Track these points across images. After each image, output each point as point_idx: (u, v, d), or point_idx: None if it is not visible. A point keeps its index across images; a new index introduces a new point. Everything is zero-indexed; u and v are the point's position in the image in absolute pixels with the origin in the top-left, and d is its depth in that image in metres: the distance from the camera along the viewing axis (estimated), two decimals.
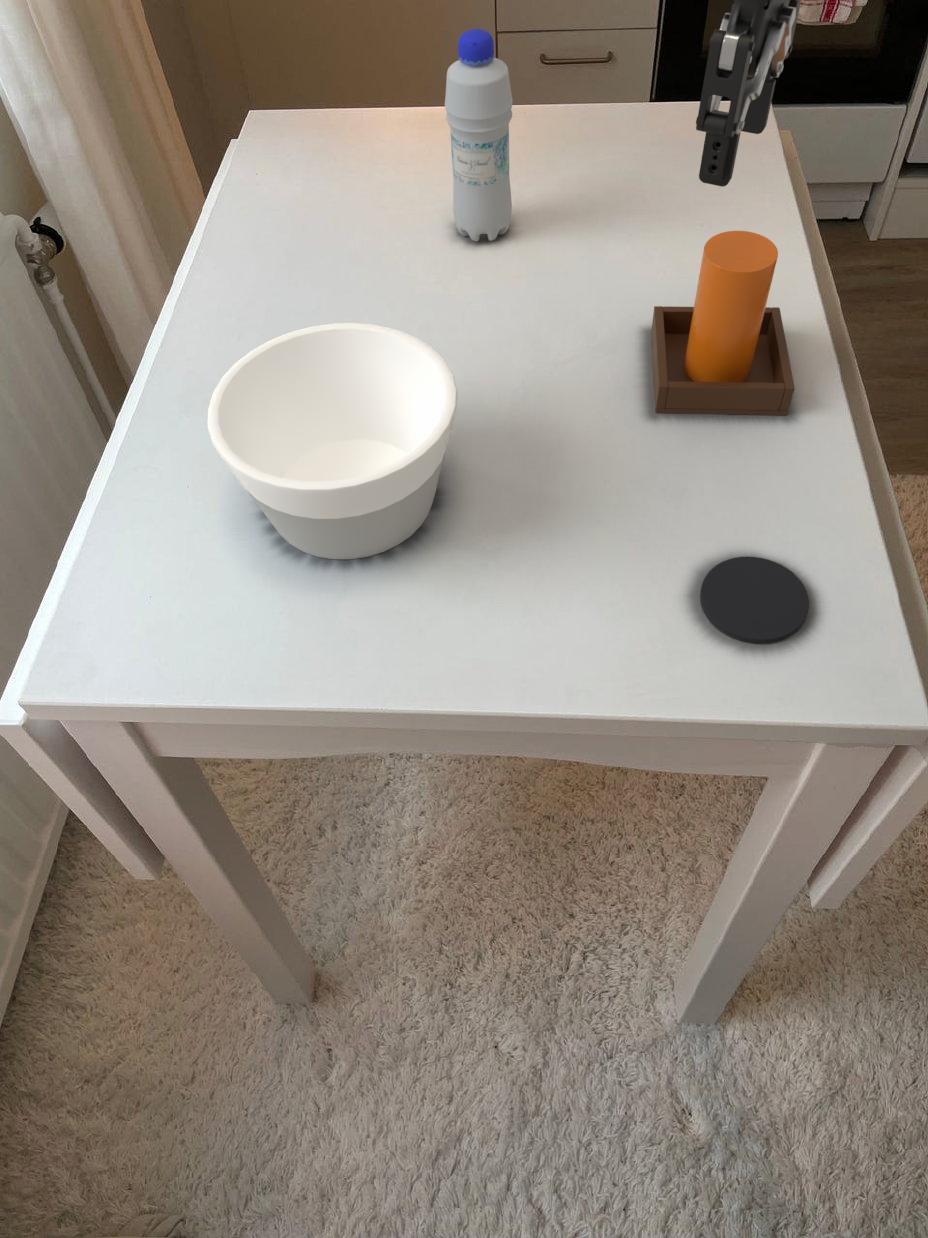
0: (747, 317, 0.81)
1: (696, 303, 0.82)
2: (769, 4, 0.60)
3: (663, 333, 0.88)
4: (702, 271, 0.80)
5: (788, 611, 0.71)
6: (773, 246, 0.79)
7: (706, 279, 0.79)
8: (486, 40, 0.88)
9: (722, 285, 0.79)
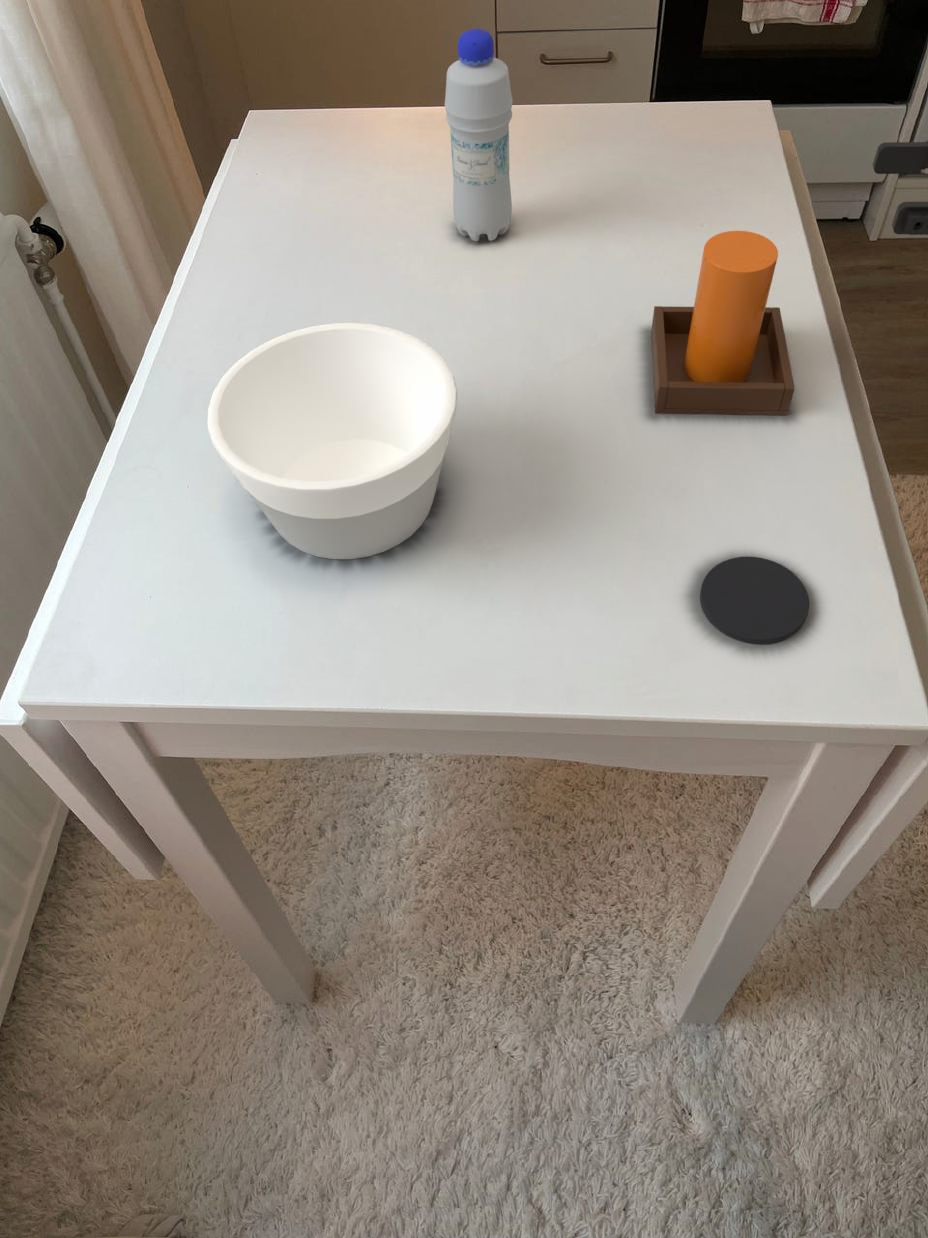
0: (747, 317, 0.81)
1: (696, 303, 0.82)
2: None
3: (663, 333, 0.88)
4: (702, 271, 0.80)
5: (788, 611, 0.71)
6: (773, 246, 0.79)
7: (706, 279, 0.79)
8: (486, 40, 0.88)
9: (722, 285, 0.79)
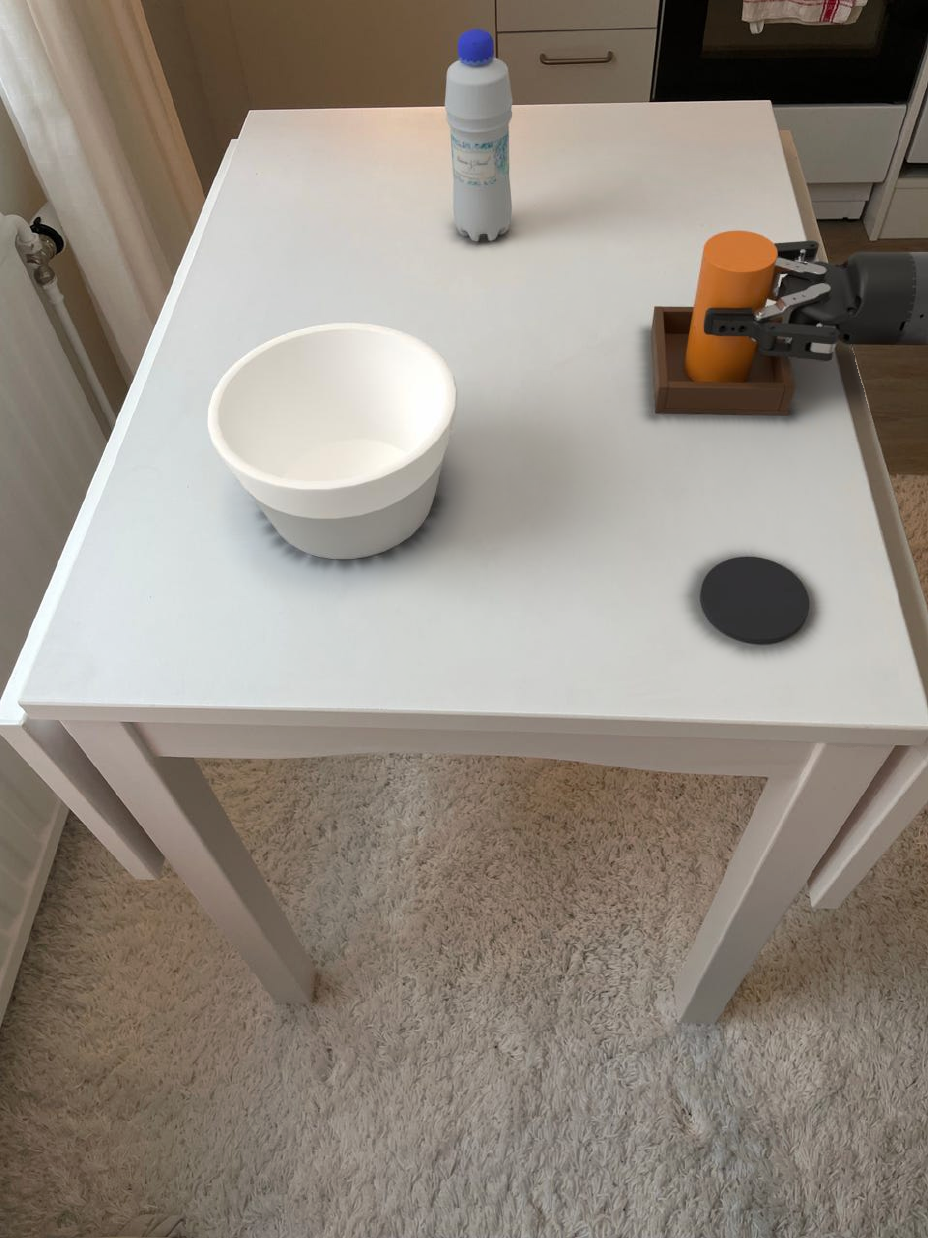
0: None
1: (696, 303, 0.82)
2: (838, 268, 0.82)
3: (663, 333, 0.88)
4: (702, 271, 0.80)
5: (788, 611, 0.71)
6: (773, 246, 0.79)
7: (706, 278, 0.79)
8: (486, 39, 0.88)
9: (722, 285, 0.79)
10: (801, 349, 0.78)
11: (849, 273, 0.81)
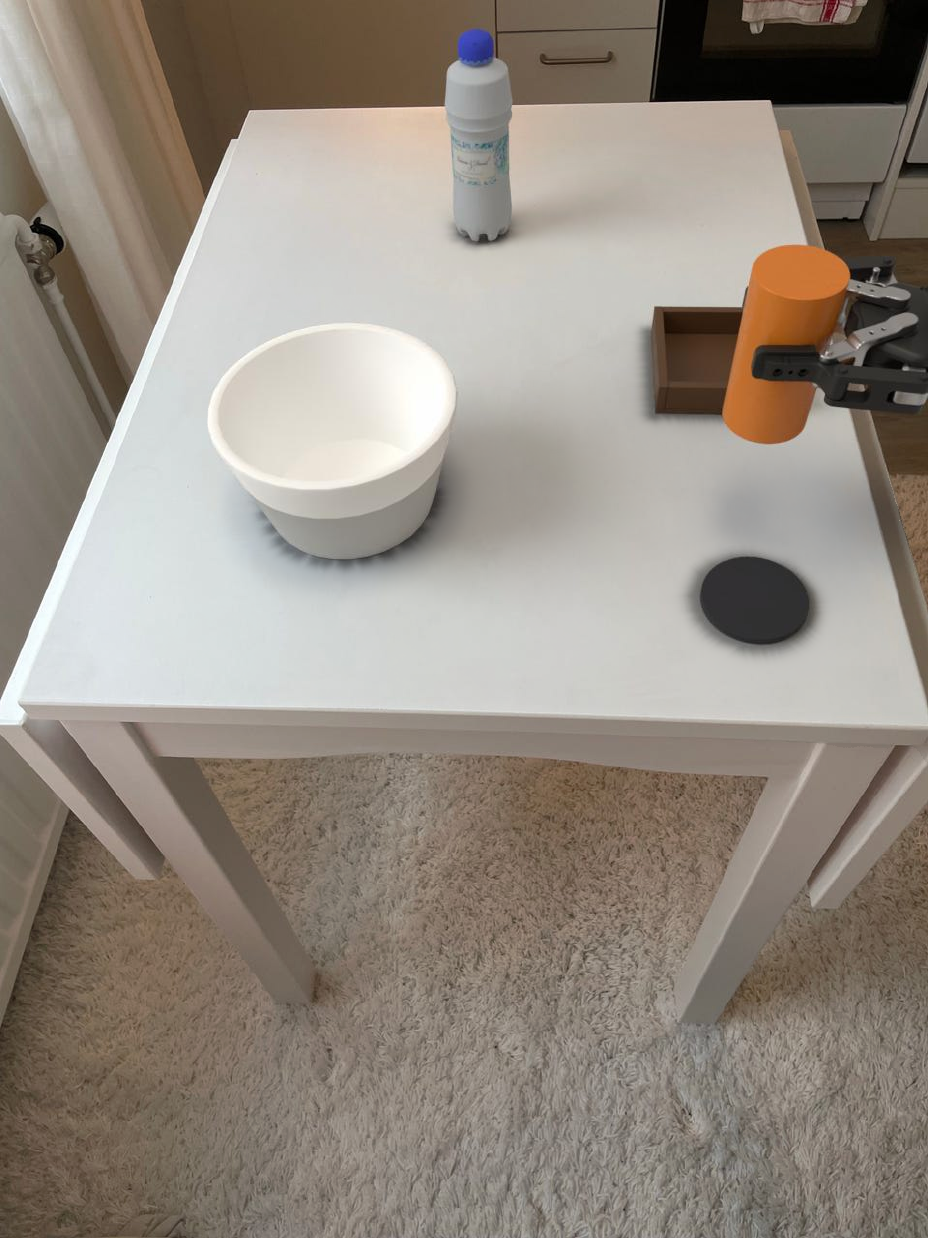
0: None
1: (741, 338, 0.64)
2: (923, 291, 0.64)
3: (663, 333, 0.88)
4: (750, 298, 0.62)
5: (788, 611, 0.71)
6: (843, 265, 0.60)
7: (756, 308, 0.61)
8: (486, 39, 0.88)
9: (777, 317, 0.60)
10: (881, 400, 0.60)
11: None
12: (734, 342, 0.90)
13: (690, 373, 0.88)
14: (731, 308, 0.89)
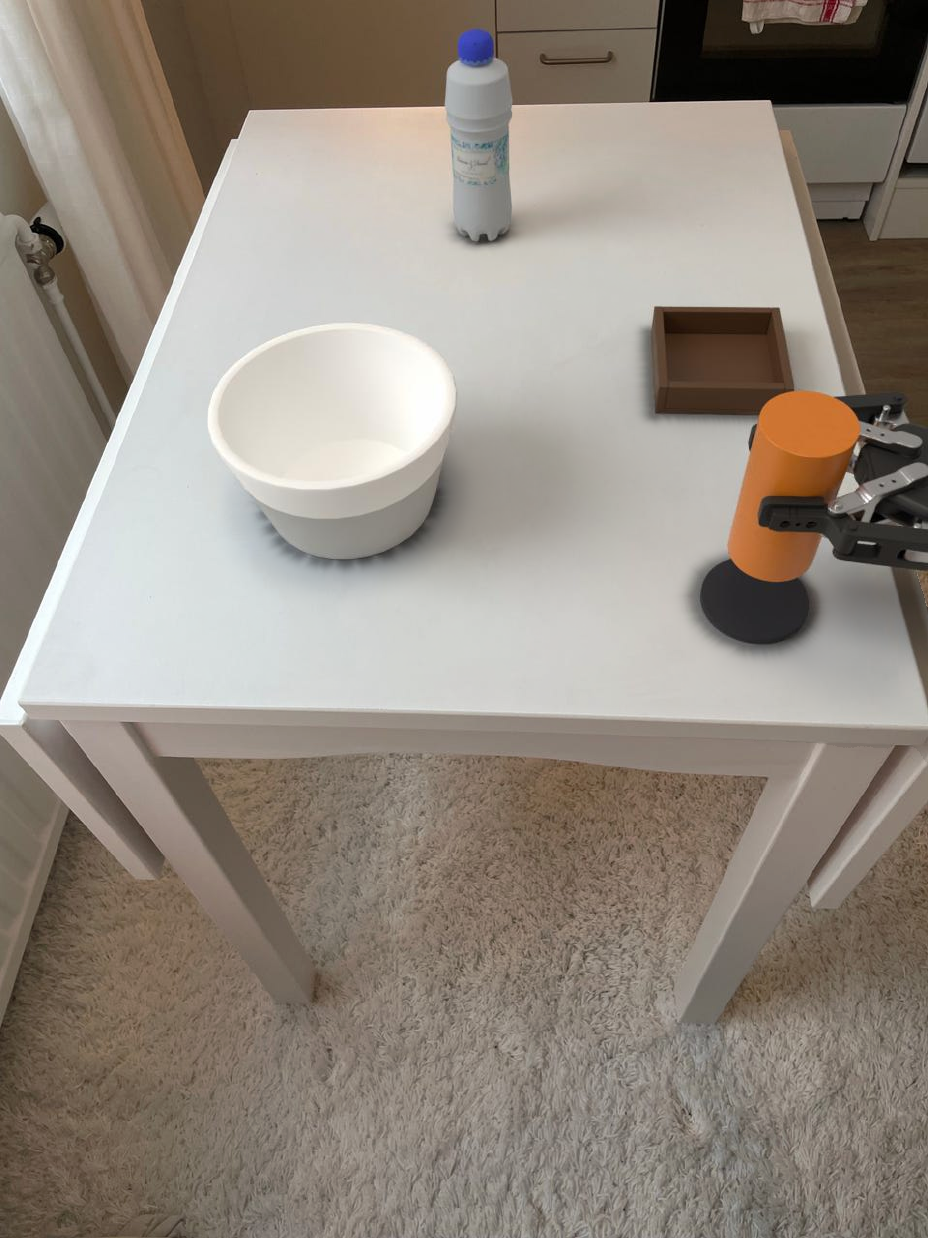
0: None
1: (747, 482, 0.62)
2: None
3: (663, 333, 0.88)
4: (756, 447, 0.60)
5: (788, 611, 0.71)
6: (853, 416, 0.59)
7: (763, 459, 0.59)
8: (486, 39, 0.88)
9: (785, 471, 0.58)
10: (892, 557, 0.58)
11: None
12: (734, 342, 0.90)
13: (690, 373, 0.88)
14: (731, 308, 0.89)
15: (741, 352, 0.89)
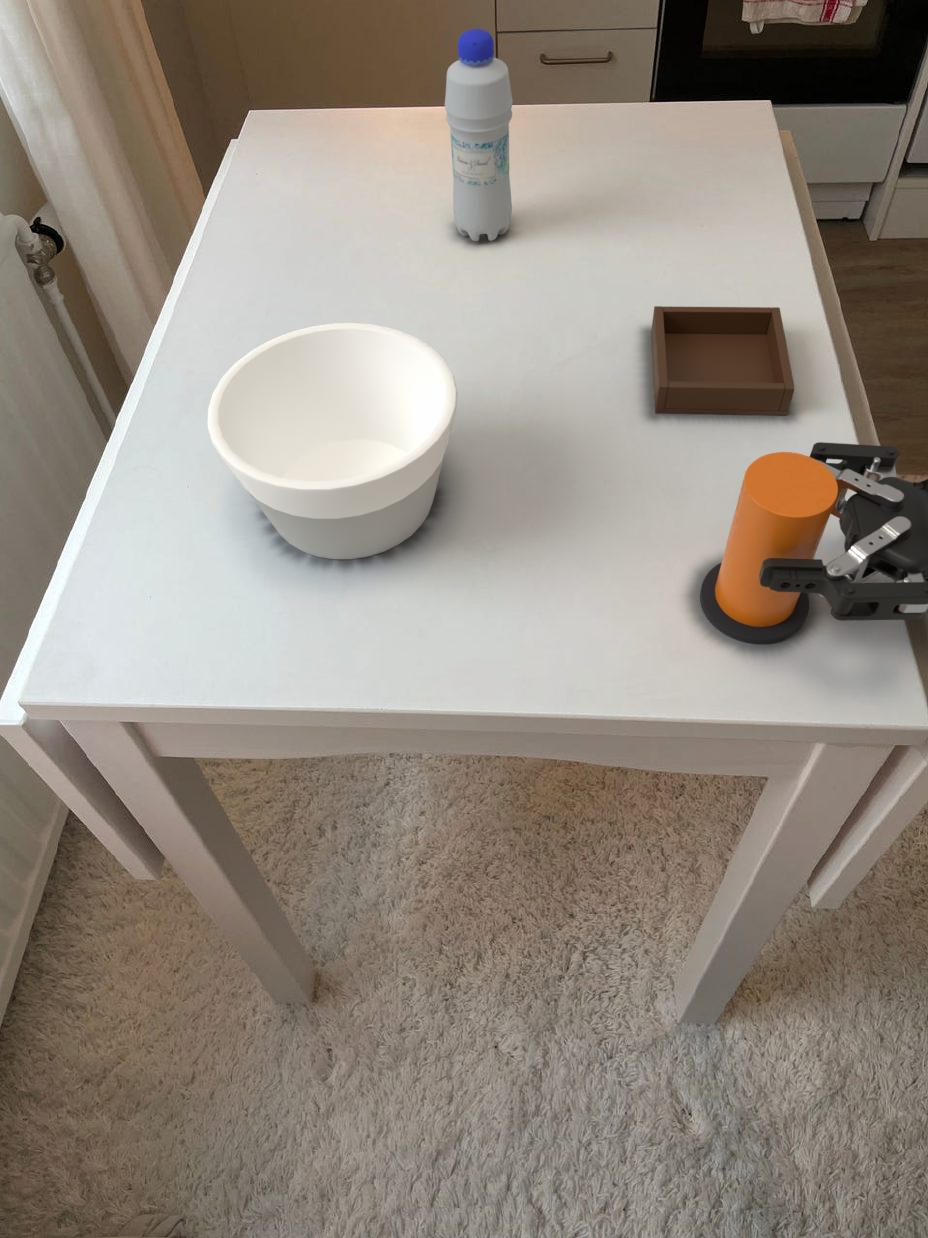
0: None
1: (733, 535, 0.67)
2: (916, 488, 0.66)
3: (663, 333, 0.88)
4: (742, 505, 0.64)
5: None
6: (831, 478, 0.63)
7: (747, 516, 0.63)
8: (486, 39, 0.88)
9: (768, 528, 0.63)
10: (888, 611, 0.61)
11: None
12: (734, 342, 0.90)
13: (690, 373, 0.88)
14: (731, 308, 0.89)
15: (741, 352, 0.89)
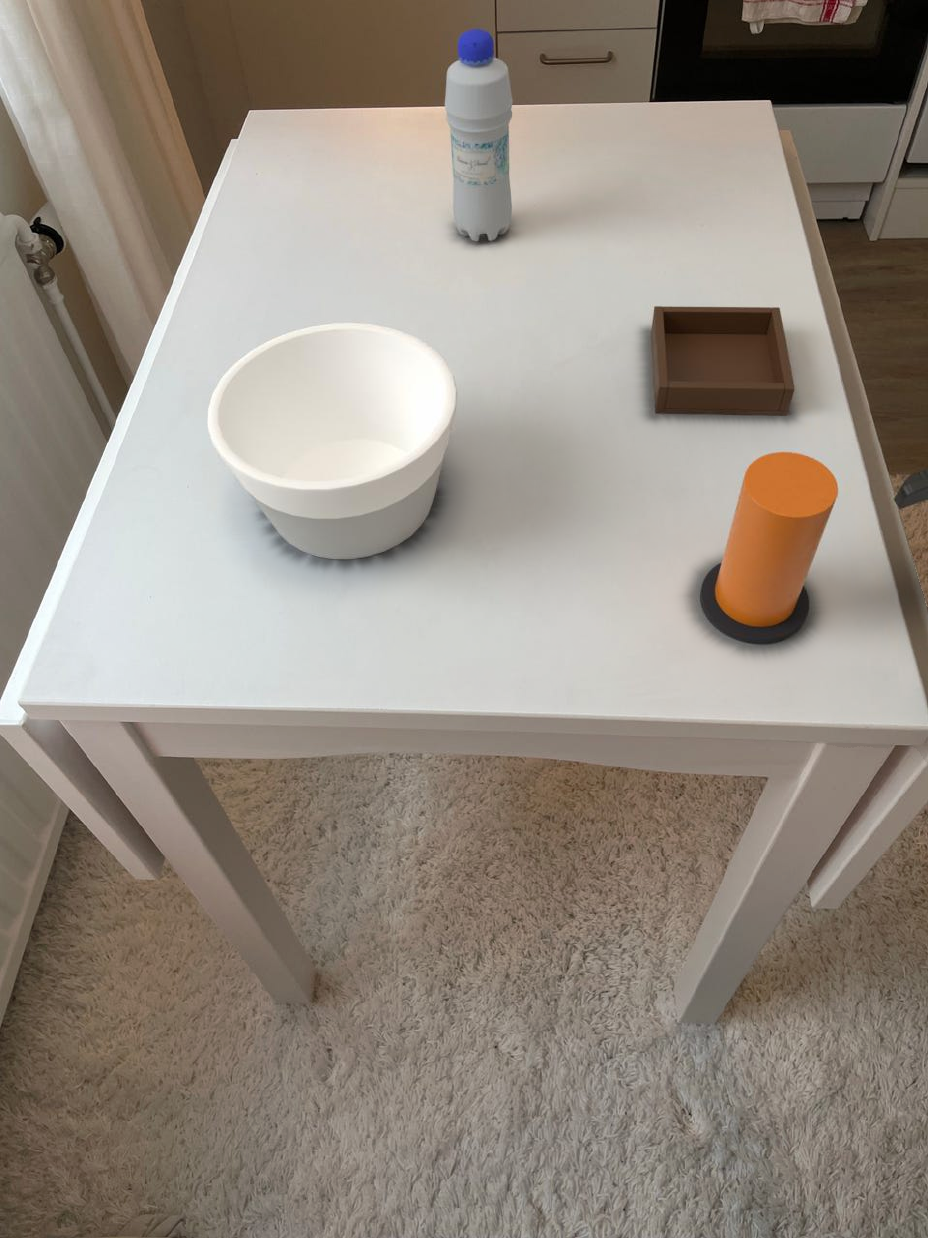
0: (797, 560, 0.65)
1: (733, 535, 0.67)
2: None
3: (663, 333, 0.88)
4: (742, 505, 0.64)
5: None
6: (831, 478, 0.63)
7: (747, 516, 0.63)
8: (486, 39, 0.88)
9: (768, 528, 0.63)
10: None
11: None
12: (734, 342, 0.90)
13: (690, 373, 0.88)
14: (731, 308, 0.89)
15: (741, 352, 0.89)
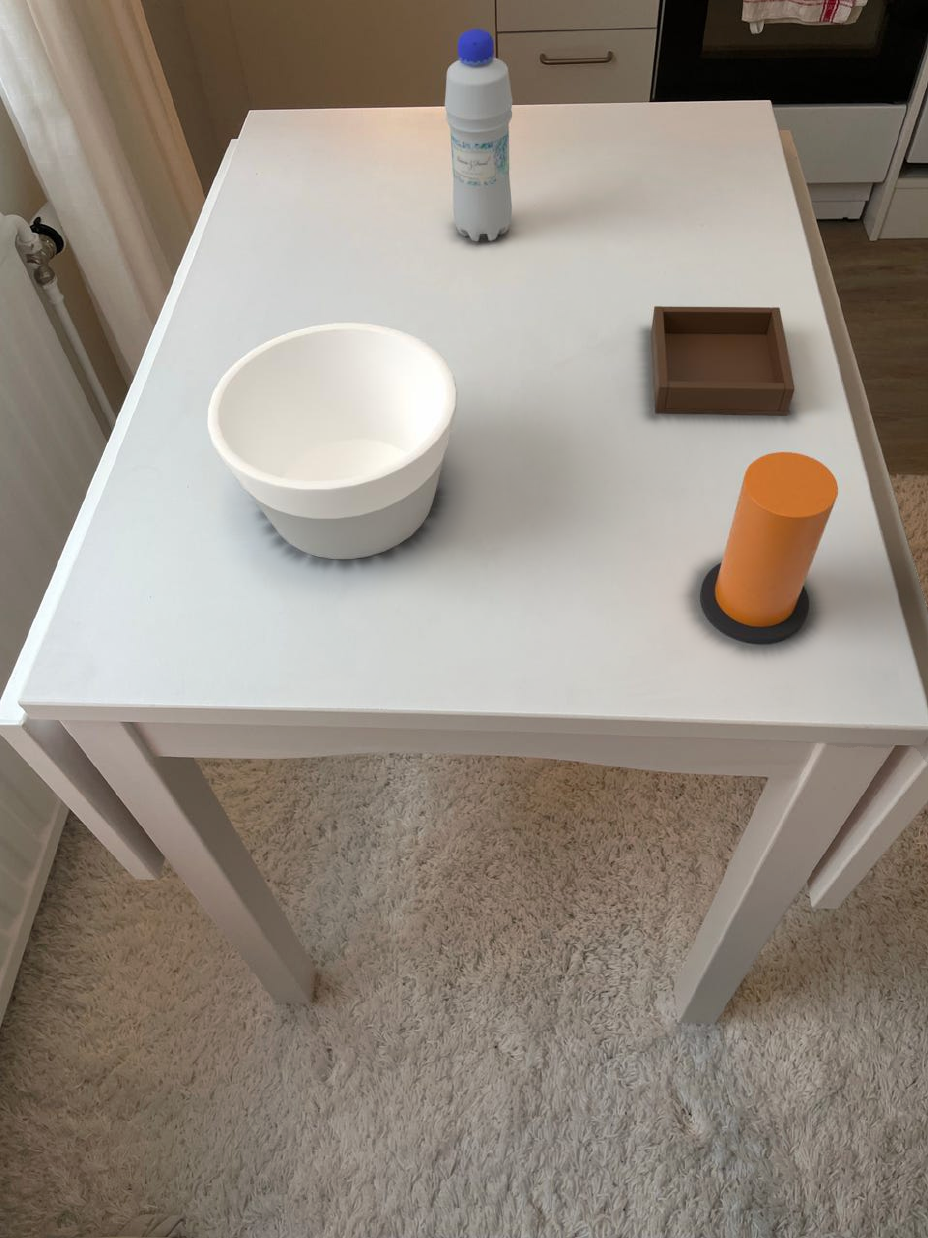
0: (797, 560, 0.65)
1: (733, 535, 0.67)
2: None
3: (663, 333, 0.88)
4: (742, 505, 0.64)
5: None
6: (831, 478, 0.63)
7: (747, 516, 0.63)
8: (486, 39, 0.88)
9: (768, 528, 0.63)
10: None
11: None
12: (734, 342, 0.90)
13: (690, 373, 0.88)
14: (731, 308, 0.89)
15: (741, 352, 0.89)
